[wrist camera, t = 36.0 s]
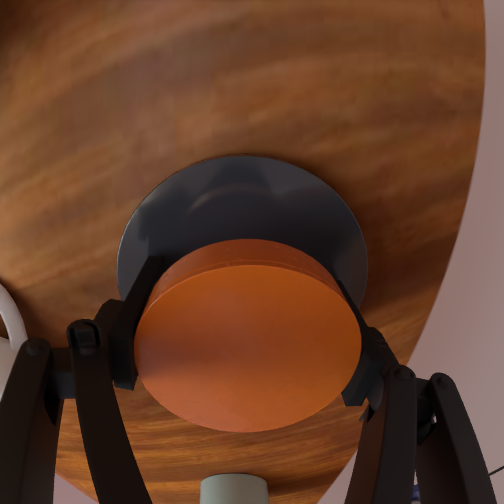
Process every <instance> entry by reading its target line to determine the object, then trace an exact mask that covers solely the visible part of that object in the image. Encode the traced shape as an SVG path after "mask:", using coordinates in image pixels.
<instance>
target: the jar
mask: <svg viewBox="0 0 504 504" xmlns="http://www.w3.org/2000/svg"><path fill="white" fill-rule="evenodd" d="M199 504H269V497H268V487H267V482H266V481H265V480H264V479H262V478H260V477H257V476H253V475H248V474H236V473H231V474H219V475H214V476H210V477H207V478H205V479H204V480H202V481H201V483H200V501H199Z"/></svg>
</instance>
